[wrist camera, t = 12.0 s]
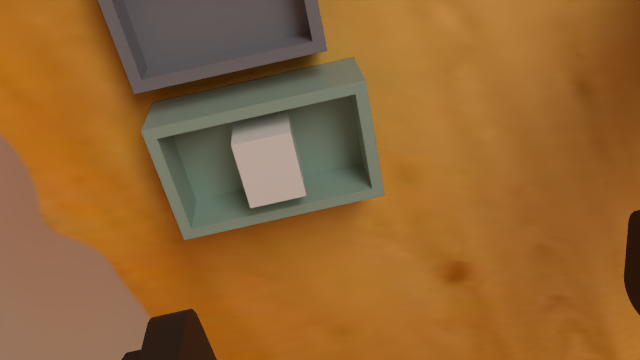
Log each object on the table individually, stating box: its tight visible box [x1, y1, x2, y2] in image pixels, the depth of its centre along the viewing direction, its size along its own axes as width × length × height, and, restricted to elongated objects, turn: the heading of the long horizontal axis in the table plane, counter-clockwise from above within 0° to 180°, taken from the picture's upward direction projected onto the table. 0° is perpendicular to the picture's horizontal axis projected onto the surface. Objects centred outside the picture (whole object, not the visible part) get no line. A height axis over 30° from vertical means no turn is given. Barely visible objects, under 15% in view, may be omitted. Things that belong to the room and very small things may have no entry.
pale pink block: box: [231, 110, 306, 208], centre depth 40 cm, size 4×5×5 cm
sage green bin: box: [141, 57, 384, 240], centre depth 41 cm, size 15×9×5 cm, turn 101°
